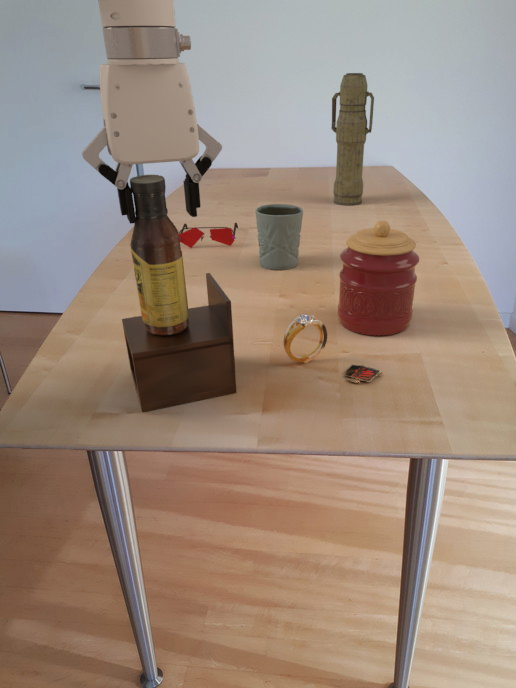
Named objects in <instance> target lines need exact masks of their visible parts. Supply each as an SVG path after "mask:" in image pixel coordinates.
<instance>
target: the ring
mask: <svg viewBox="0 0 516 688" xmlns="http://www.w3.org/2000/svg"><path fill="white" fill-rule="evenodd" d="M296 326H297V327H296ZM309 326H315V327H316V328H317V329H318V332H319V342H318V345H317V347H316V348H315V349H314V351H312V352H311V353H309V354H302V355H301V356H297V355H294V354H293V353H292V350H291V346H292V343H293V340H294V339H295V338H296V337H297V335H298V334H300V333H301V331H303V330H305V328H306V327H309ZM282 342H283V343H282V344H283V349H284V352H285V354H286V355H287V356H288V357H289V359H290V360H292V361H293V362H296V363H304V364H308V363H310V361H312V360H314V359H316V358H317V357H318V356H319V355H321V353H322V352H323V350H324V349H325V347H326V345H327V342H328V331H327V327H326V325H325V324H324V323H323V322H322V321H321V320H319V319H315V313H312V314H311V315H307V313H306V312H303V313H300V314H299V315H297V316H296V317H295V318H294V319H293V320H291V322H290V323H289V324H288V326H287V327H286V330H285V333H284V336H283V341H282Z"/></svg>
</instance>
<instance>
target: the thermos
mask: <svg viewBox="0 0 516 688" xmlns="http://www.w3.org/2000/svg"><path fill="white" fill-rule="evenodd" d="M367 97H370V109H369V110H370V111H369V122H368V118H367V110H366V107H367ZM337 98H339V110H338V116H337ZM374 104H375V96H374V95H373V93H372V92H369V91H368V81H367V77H366V74H364V73H363V72H348V73H345V74H343V76H342V79H341V82H340V86H339V92H335V93H334V95H333V96H332V97H331V130H332V131H333V132H334V133H335V143H336V144H337V145H336V167H335V180H334V182H333V203H334V204H335V205H339V206H357V205H360V204H362V203H363V199H362V198H363V194H364V179H363V170H364V169H363V168H364V154H365V144H366V142H367V135H368V134H371V133H372V129H373V120H374V119H373V118H374V106H375V105H374ZM368 123H369V124H368Z"/></svg>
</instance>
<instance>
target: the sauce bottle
mask: <svg viewBox="0 0 516 688" xmlns="http://www.w3.org/2000/svg"><path fill="white" fill-rule="evenodd" d="M129 184H130V185H129V187H130V188H131V190H132V196H133V203H134V210H135V217H136V222H135V223H133V230H132V235H131V239H130V244H129V247H130V252H131V259H132V264H133V265H132V266H133V271H134V277H135V281H136V282H135V283H136V290H137V295H138V296H137V297H138V301H139V308H140V315H141V316H142V320H143V321H144V325H145V328H146V330H147V331H148V332H149V333H150V334H155V335H173V334H178V333H181V332H182V331H183V330H184V329H185V328H186V327H187V326H188V325H189V319H188V314H189V311H188V309H189V302H188V293H187V284H186V278H185V277H186V276H185V275H186V274H185V265H184V256H183V250H182V247H181V242H180V237H179V230H178V229H177V227H176V225H175V224H174V222H173V221H172V220H171V219H170V217H169V215H168V214H169V213H168V212H169V210H168V207H167V201H166V179H165V177H164V176H162V175H159V174H141V175H136V176H133V177H130V179H129Z"/></svg>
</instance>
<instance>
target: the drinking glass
mask: <svg viewBox="0 0 516 688" xmlns="http://www.w3.org/2000/svg"><path fill="white" fill-rule="evenodd" d="M303 216H304V210H303V208H302V207H300V206H297V205H294V204H287V203H286V204H285V203H271V204H264V205H260V206H258V207H256V208H255V220H256V229H257V233H258V234H257V245H258V247H259V250H258V256H259V257H258V258H259V265H260V266H261V267H262V268H264V269H266V270H271V271H286V270H291V269H294V268H295V267H297V265H299V264H298V263H299V256H300V255H299V254H300V251H299V249H300V243H301V231H302V227H303Z"/></svg>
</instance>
